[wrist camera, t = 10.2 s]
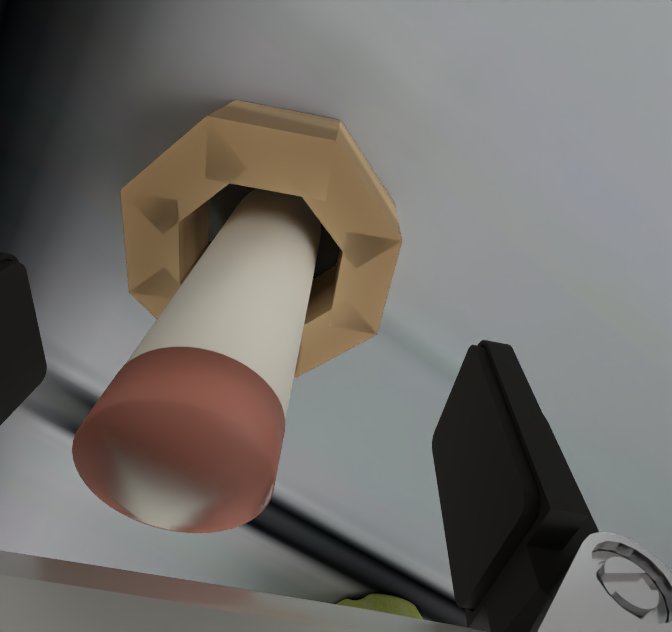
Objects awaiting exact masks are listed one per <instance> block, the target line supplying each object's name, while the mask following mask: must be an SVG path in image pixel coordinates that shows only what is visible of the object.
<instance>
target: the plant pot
mask: <svg viewBox="0 0 672 632" xmlns="http://www.w3.org/2000/svg"><path fill="white" fill-rule="evenodd" d="M337 605H343V606H349V607H355V608H361V609H367V610H373V611H378V612H384V613H389V614H395V615H400V616H406V617H411V618H417V619H422V620H424V619H423V617H422V616H421V615H420V613H419V612H418V610H417V608H416V606H415V605H414V604H412V603H410V602H409V601H407V600H404V599H402V598H399V597H395V596H390V595H386V594H369V595H367V596H366V597H364V598H363V599H360V600H350V599H344V600H342V601H340V602H338V603H337Z"/></svg>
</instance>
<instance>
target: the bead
mask: <svg viewBox="0 0 672 632" xmlns="http://www.w3.org/2000/svg"><path fill="white" fill-rule="evenodd" d="M229 183H231V184H236V185H241V186H247V187H252V188H258V189H263V190H269V191H274V192H279V193H285V194H290V195H296V196H301V197H303V199H304V200H305V202H306V203H307V204H308V206H309V207H310V208H311V210H312V211H313V212H314V214H315V215H316V216H317V218H318V219H319V220H320V222H321V223H322V224H323V226H324V227H325V228H326V230H327V231H328V232H329V234H330V235H331V236H332V238H333V239H334V241H335V242H336V243H337V245H338V246H339V247H340V249H339V254H338V259H337V264H336V265H335V266H334V267H332V268H330V269H329V270H327V271H326V272H324V273H322V274H321V275H319V276H318V277H316V278H314V279H313V280H312V286H311V291H310V296H309V301H308V306H307V312H306V317H305V322H304V327H303V333H302V338H301V343H300V348H299V353H298V359H297V364H296V369H295V374H294V377H298V376H300V375H302V374H304V373H306V372H308V371H310V370H311V369H313V368H315V367H317V366H319V365H321V364H323V363H324V362H326V361H328V360H330V359H332V358H334V357H336V356H338V355H339V354H341V353H343V352H345V351H347V350H349V349H351V348H352V347H354V346H356V345H358V344H360V343H362V342H364V341H366V340H367V339H369V338H371V337H373V336H375V335H377V332H378V328H379V325H380V321H381V317H382V314H383V310H384V306H385V303H386V299H387V295H388V292H389V288H390V284H391V280H392V277H393V273H394V269H395V266H396V262H397V258H398V255H399V251H400V247H401V244H402V238H401V233H400V228H399V223H398V218H397V213H396V208H395V204H394V203H393V201H392V200H391V198H390V196H389V195H388V193H387V192H386V190H385V189H384V187H383V186H382V184H381V183H380V181H379V179H378V178H377V176H376V175H375V173H374V172H373V170H372V169H371V167H370V165H369V164H368V162H367V161H366V159H365V158H364V156H363V155H362V153H361V152H360V150H359V148H358V147H357V145H356V144H355V142H354V141H353V139H352V138H351V136H350V134H349V133H348V131H347V130H346V128H345V127H344V125H343V124H342V122H341V121H340V120H337V119H332V118H327V117H321V116H316V115H311V114H306V113H301V112H296V111H291V110H286V109H280V108H275V107H270V106H265V105H260V104H255V103H250V102H244V101H239V100H235V101H233V102H231V103H229V104H227V105H226V106H224V107H222V108H220V109H218V110H216V111H215V112H213V113H211V114H209V115H207V116H206V117H205V118H203V119H202V120H201V121H200V122H199V123H198V124H196V125H195V126H194V127H193V128H192V129H191V130H189V131H188V132H187V133H186V134H185V135H184V136H182V137H181V138H180V139H179V140H178V141H177V142H175V143H174V144H173V145H172V146H171V147H170V148H168V149H167V150H166V151H165V152H164V153H163V154H161V155H160V156H159V157H158V158H157V159H156V160H154V161H153V162H152V163H151V164H150V165H149V166H147V167H146V168H145V169H144V170H143V171H142V172H140V173H139V174H138V175H137V176H136V177H135V178H133V179H132V180H131V181H130V182H129V183H128V184H126V185H125V186H124V187H123V188H122V189H121V190H120V193H121V204H122V216H123V228H124V240H125V251H126V263H127V275H128V287H129V293H130V294H131V295H132V296H133V297H134V298H135V299H137V300H138V301H139V302H140V303H141V304H142V305H143V306H144V307H145V308H146V309H147V310H148V311H149V312H150V313H151V314H152V315H153V316H154V317H155V318H156V319H158V317H159V316H160V315H161V313H162V312H163V310H164V309H165V308H166V306H167V305H168V303H169V302H170V300H171V299H172V298H173V296H174V295H175V293H176V292H177V291H178V289H179V288H180V286H181V285H182V283H183V282H184V281H185V279H186V278H187V276H188V275H189V274H190V272H191V271H192V269H193V268H194V266H195V265H196V264H197V262H198V261H199V259H200V258H201V257H202V255H203V254H204V252H205V251H206V249H207V248H208V247H209V245H210V243H209V209H210V198H211V197H213V196H214V195H215V194H216V193H218V192H219V191H220V190H222V189H223V188H224V187H226V186H227V185H228V184H229Z"/></svg>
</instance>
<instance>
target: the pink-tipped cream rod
mask: <svg viewBox="0 0 672 632" xmlns="http://www.w3.org/2000/svg"><path fill="white" fill-rule="evenodd" d="M320 239H321V224H320V220H319V219H318V218H317V216H316V215H315V214H314V212H313V211H312V210H311V208H310V207H309V206H308V204H307V203H306V202H305V200H304V199H303V197H301V196H296V195H290V194H285V193H279V192H274V191H269V190H263V189H256V190H253V191H252V192H250V193H248V194H247V195H246V196H245V197H244V198H243V199H242V200H241V201H240V203H239V204H238V206H237V207H236V208H235V210H234V211H233V213H232V214H231V215H230V217H229V218H228V220H227V221H226V223H225V224H224V225H223V227H222V228H221V230H220V231H219V232H218V234H217V235H216V237H215V238H214V240H213V241H212V242H211V244H210V245H209V247H208V248H207V249H206V251H205V252H204V254H203V255H202V257H201V258H200V259H199V261H198V262H197V264H196V265H195V266H194V268H193V269H192V271H191V272H190V274H189V275H188V276H187V278H186V279H185V281H184V282H183V283H182V285H181V286H180V288H179V289H178V291H177V292H176V293H175V295H174V296H173V298H172V299H171V300H170V302H169V303H168V305H167V306H166V308H165V309H164V310H163V312H162V313H161V315H160V316H159V317H158V319H157V320H156V322H155V323H154V324H153V326H152V327H151V329H150V330H149V332H148V333H147V334H146V336H145V337H144V339H143V340H142V341H141V343H140V344H139V346H138V347H137V349H136V350H135V351H134V353H133V354H132V356H131V357H130V358H129V360H128V361H127V363H126V364H125V365H124V366H123V367H122V368H121V370H120V371H119V372H118V373H117V375H116V376H115V377H114V379H113V380H112V382H111V383H110V384H109V386H108V387H107V389H106V390H105V392H104V393H103V394H102V396H101V397H100V399H99V400H98V401H97V403H96V404H95V406H94V407H93V408H92V410H91V411H90V413H89V414H88V415H87V417H86V418H85V420H84V421H83V422H82V424H81V425H80V427H79V429H78V430H77V432H76V434H75V437H74V440H73V447H72V453H73V460H74V463H75V467H76V469H77V471H78V473H79V475H80V477H81V478H82V480H83V481H84V483H85V484H86V485H87V486H88V488H89V489H90V490H91V491H92V492H93V493H94V494H95V495H96V496H97V497H98V498H100V499H101V500H102V501H103V502H105V503H106V504H107V505H109V506H110V507H112V508H113V509H115V510H116V511H118V512H120V513H122V514H124V515H126V516H128V517H129V518H132V519H134V520H136V521H139V522H141V523H144V524H147V525H150V526H153V527H157V528H161V529H165V530H171V531H176V532H185V533H211V532H218V531H224V530H228V529H232V528H235V527H238V526H241V525H243V524H245V523H247V522H249V521H250V520H252V519H253V518H255V517H256V516H258V515H259V514H260V513H261V512H262V511H263V510H264V509H265V507H266V506H267V505H268V503H269V501H270V499H271V497H272V494H273V490H274V485H275V480H276V474H277V469H278V464H279V459H280V453H281V448H282V443H283V437H284V432H285V421H286V416H287V411H288V405H289V400H290V395H291V390H292V385H293V379H294V374H295V369H296V364H297V359H298V353H299V348H300V343H301V338H302V333H303V327H304V322H305V317H306V312H307V306H308V301H309V296H310V291H311V286H312V280H313V275H314V270H315V265H316V260H317V254H318V249H319V244H320Z"/></svg>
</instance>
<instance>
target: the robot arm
mask: <svg viewBox="0 0 672 632" xmlns="http://www.w3.org/2000/svg"><path fill="white" fill-rule="evenodd" d="M46 370H47V365H46V360H45V355H44V351H43V346H42V341H41V337H40V332H39V327H38V323H37V318H36V313H35V309H34V304H33V299H32V295H31V290H30V285H29V281H28V276H27V271H26V268H25V267H24V265H23V264H21V263H19V261H18V259H17V258H16V257H15V256H14V255H12V254H8V253H2V252H0V425H1V424H2V423H3V422H4V421H5V420H6V419H7V418H8V417H9V416H10V415H11V414H12V412H13V411H14V410H15V409H16V408H17V407H18V406H19V405H20V404H21V403H22V402H23V401H24V400H25V399H26V398H27V397H28V396H29V395H30V394H31V393H32V392H33V390H34V389H35V388H36V387H37V386H38V385H39V384H40V383H41V382H42V381H43V379H44V377H45V374H46ZM432 451H433V458H434V464H435V471H436V478H437V484H438V491H439V497H440V504H441V510H442V517H443V524H444V530H445V537H446V543H447V550H448V556H449V563H450V569H451V576H452V583H453V589H454V596H455V600H456V603H457V605H458V606H459V607H462V608H465V612H466V618H467V624H468V628H466V627H461V626H455V625H450V624H444V623H439V622H433V621H428V620H422V619H417V618H411V617H406V616H400V615H395V614H389V613H384V612H378V611H373V610H367V609H361V608H355V607H349V606H343V605H337V604H331V603H325V602H319V601H312V600H306V599H300V598H294V597H288V596H282V595H276V594H270V593H264V592H257V591H251V590H245V589H239V588H233V587H227V586H221V585H215V584H208V583H202V582H196V581H190V580H184V579H177V578H171V577H165V576H158V575H152V574H146V573H139V572H133V571H127V570H121V569H114V568H108V567H102V566H95V565H89V564H83V563H76V562H70V561H63V560H57V559H51V558H44V557H38V556H32V555H25V554H19V553H13V552H6V551H0V632H484V631H487V632H672V572H671V571H670V570H669V569H668V568H667V567H666V566H665V565H664V564H663V563H662V561H661V560H660V559H658V558H657V557H656V556H655V555H653V554H652V553H651V552H650V551H649V550H647V549H646V548H645V547H643V546H642V545H640V544H638V543H636V542H635V541H633V540H631V539H629V538H627V537H624V536H621V535H619V534H616V533H611V532H599V531H598V529H597V527H596V524H595V522H594V520H593V518H592V516H591V514H590V512H589V509H588V507H587V505H586V503H585V501H584V499H583V496H582V494H581V492H580V490H579V488H578V486H577V484H576V481H575V479H574V477H573V475H572V473H571V471H570V469H569V466H568V464H567V462H566V460H565V458H564V456H563V453H562V451H561V449H560V447H559V445H558V443H557V441H556V438H555V436H554V434H553V432H552V430H551V428H550V425H549V423H548V421H547V420H546V418H545V417H544V415H543V413H542V411H541V409H540V407H539V405H538V403H537V400H536V398H535V396H534V394H533V392H532V390H531V387H530V385H529V383H528V381H527V379H526V377H525V374H524V372H523V370H522V368H521V366H520V364H519V361H518V359H517V357H516V355H515V353H514V351H513V348H512V347H511V346H510V345H508V344H502V343H497V342H491V341H486V340H482V341H481V342H480V343H479V344H478V346H476V345H471V346H470V347H469V349H468V351H467V354H466V356H465V359H464V361H463V363H462V366H461V368H460V371H459V373H458V376H457V378H456V381H455V383H454V385H453V388H452V390H451V393H450V395H449V398H448V400H447V403H446V405H445V407H444V410H443V412H442V415H441V417H440V420H439V422H438V425H437V427H436V429H435V432H434V435H433V440H432ZM480 630H481V631H480Z"/></svg>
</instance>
